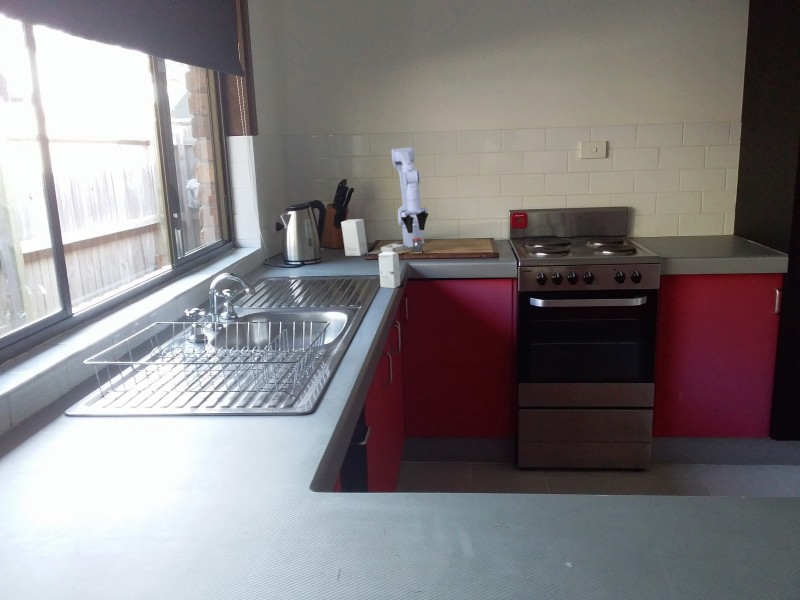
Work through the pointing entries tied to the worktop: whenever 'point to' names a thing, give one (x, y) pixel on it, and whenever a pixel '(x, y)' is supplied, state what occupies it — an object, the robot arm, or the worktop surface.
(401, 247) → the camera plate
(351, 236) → the skincare box
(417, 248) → the jar with red lid
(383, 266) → the skincare box
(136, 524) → the worktop surface
